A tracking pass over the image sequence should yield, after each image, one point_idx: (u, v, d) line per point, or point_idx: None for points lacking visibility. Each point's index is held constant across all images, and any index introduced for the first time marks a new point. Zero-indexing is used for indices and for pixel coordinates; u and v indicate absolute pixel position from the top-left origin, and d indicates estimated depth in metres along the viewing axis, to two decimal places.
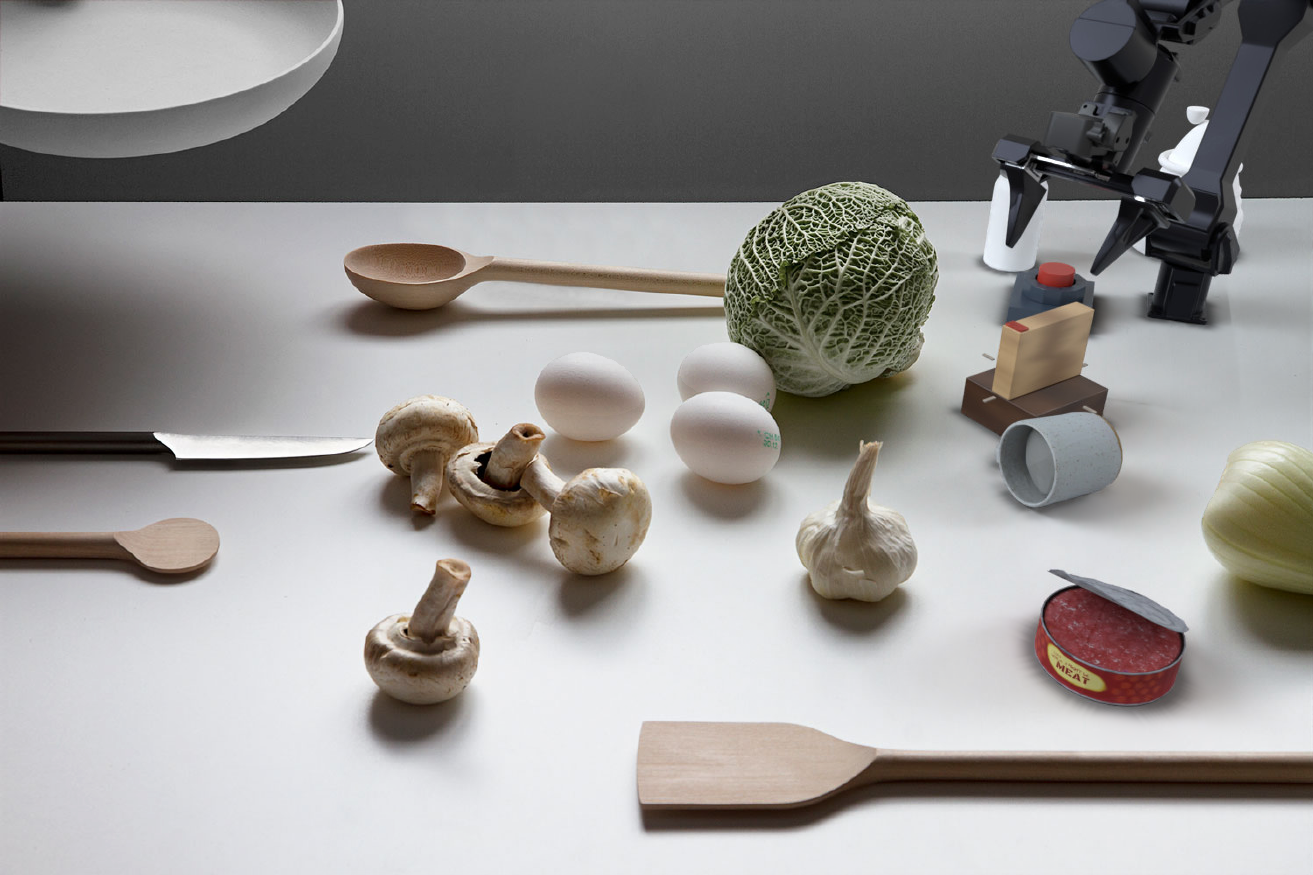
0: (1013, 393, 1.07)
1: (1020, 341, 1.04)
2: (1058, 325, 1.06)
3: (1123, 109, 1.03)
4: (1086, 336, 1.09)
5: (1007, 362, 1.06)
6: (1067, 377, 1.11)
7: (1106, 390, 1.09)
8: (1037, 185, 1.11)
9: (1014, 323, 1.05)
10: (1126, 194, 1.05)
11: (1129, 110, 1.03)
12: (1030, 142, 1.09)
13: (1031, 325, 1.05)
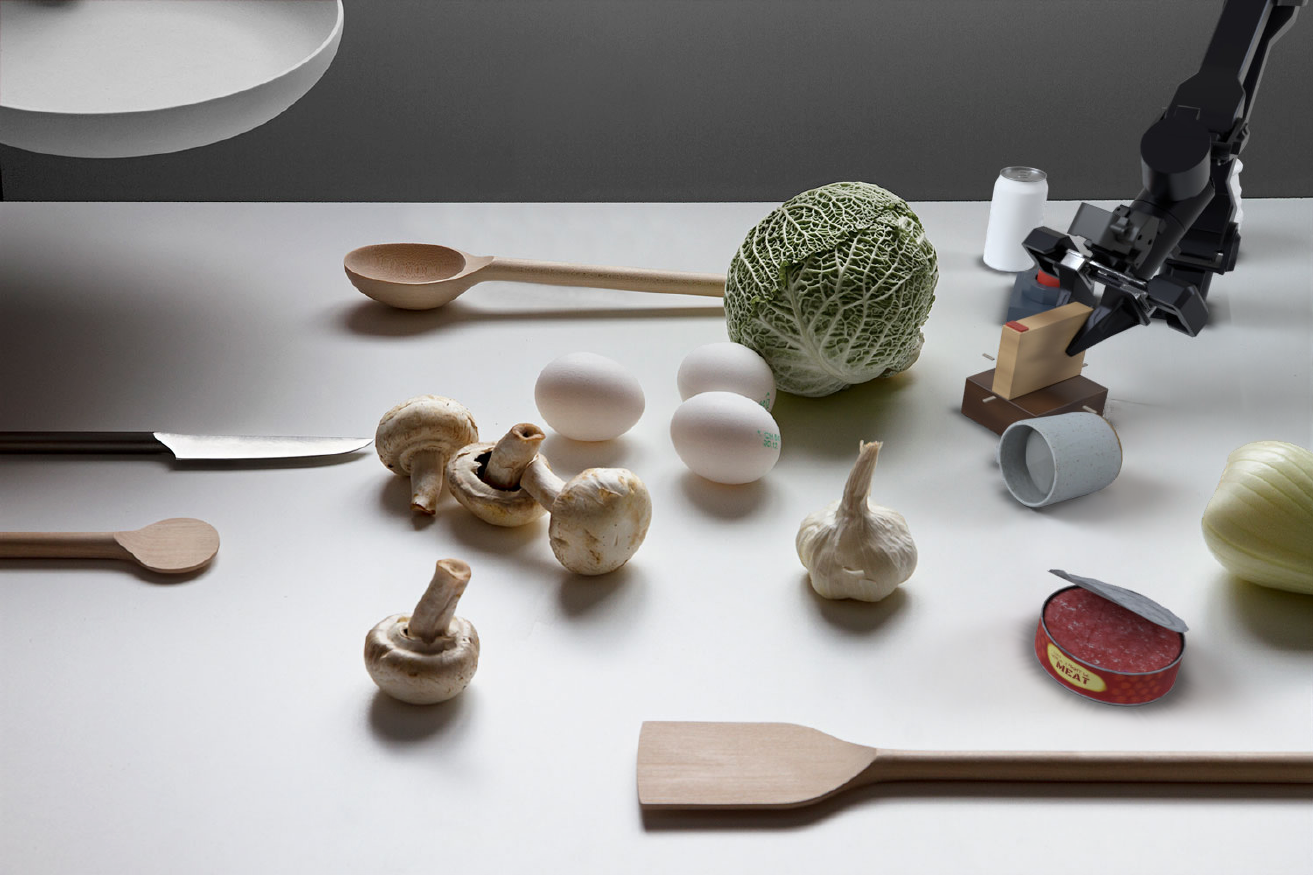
0: (1013, 393, 1.07)
1: (1020, 341, 1.04)
2: (1058, 325, 1.06)
3: (1154, 217, 1.06)
4: None
5: (1007, 362, 1.06)
6: (1067, 377, 1.11)
7: (1106, 390, 1.09)
8: (1087, 291, 1.11)
9: (1014, 323, 1.05)
10: None
11: (1159, 218, 1.05)
12: (1060, 235, 1.12)
13: (1031, 325, 1.05)
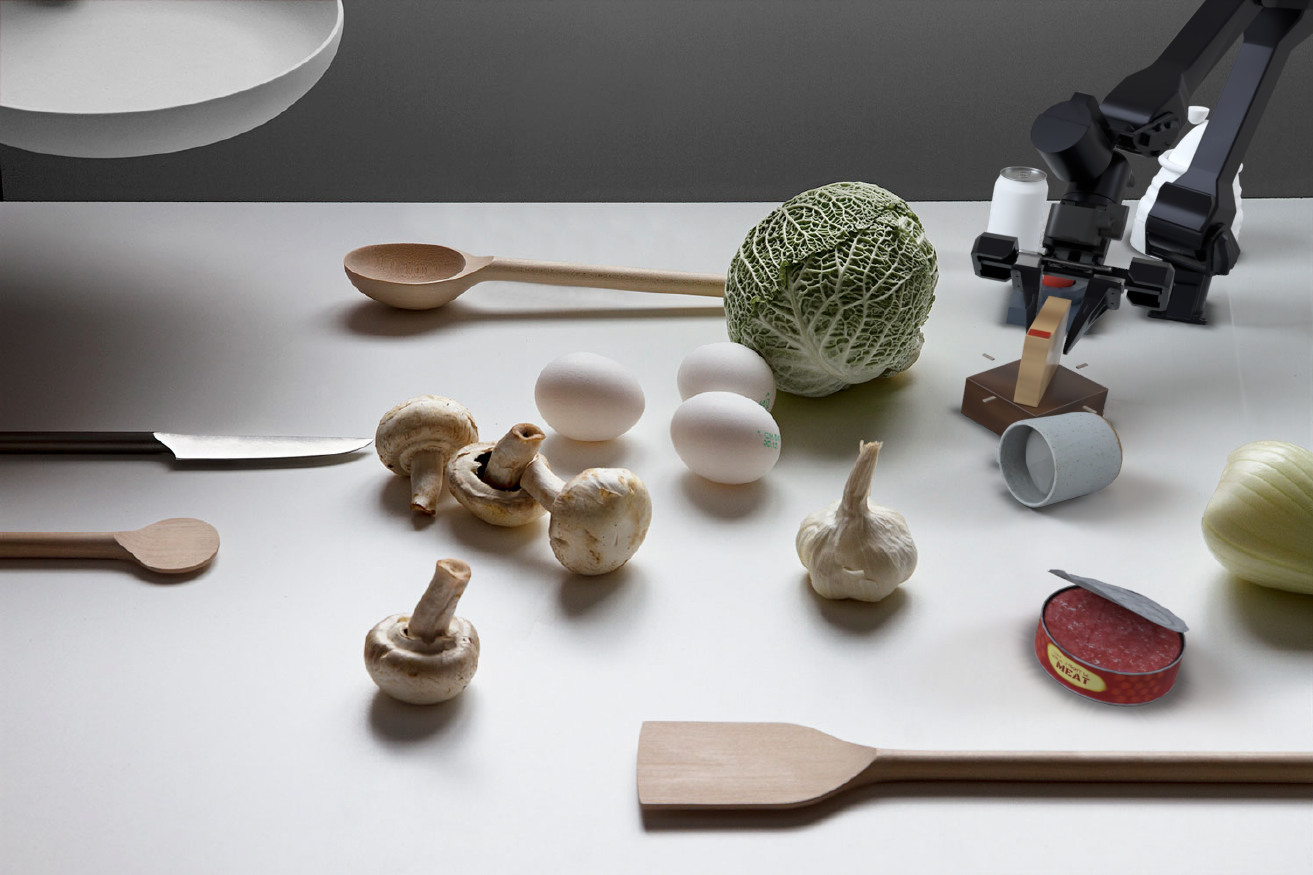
0: (1039, 399, 1.06)
1: (1048, 347, 1.03)
2: (1060, 322, 1.06)
3: (1102, 205, 1.10)
4: None
5: (1033, 370, 1.04)
6: (1055, 370, 1.12)
7: (1106, 390, 1.09)
8: (1041, 286, 1.13)
9: (1035, 331, 1.03)
10: None
11: None
12: (1011, 238, 1.12)
13: (1047, 329, 1.04)
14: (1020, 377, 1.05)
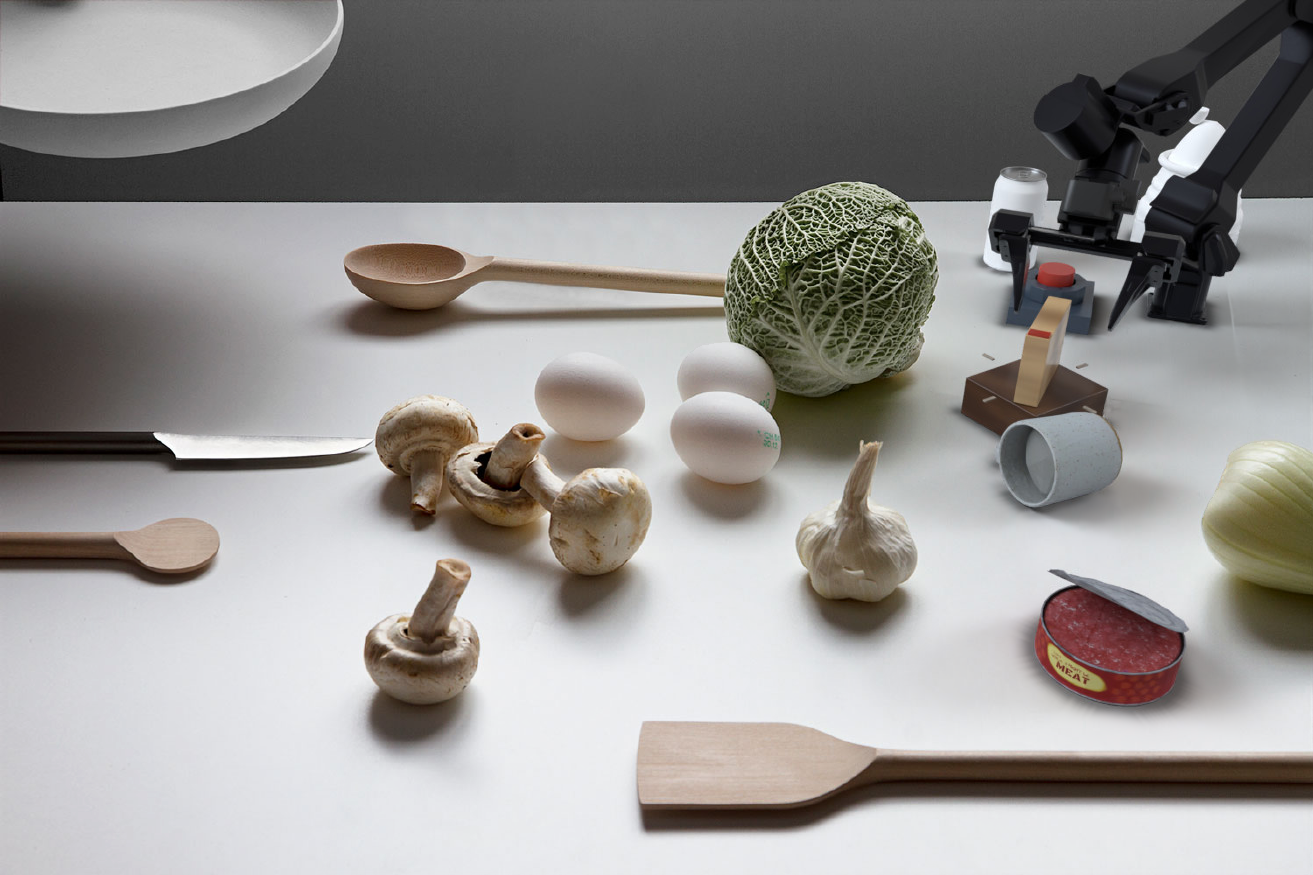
0: (1039, 399, 1.06)
1: (1048, 347, 1.03)
2: (1060, 322, 1.06)
3: (1114, 181, 1.14)
4: None
5: (1033, 370, 1.04)
6: (1055, 370, 1.12)
7: (1106, 390, 1.09)
8: (1028, 256, 1.18)
9: (1035, 331, 1.03)
10: (1124, 257, 1.14)
11: (1120, 182, 1.14)
12: (1027, 214, 1.16)
13: (1047, 329, 1.04)
14: (1020, 377, 1.05)
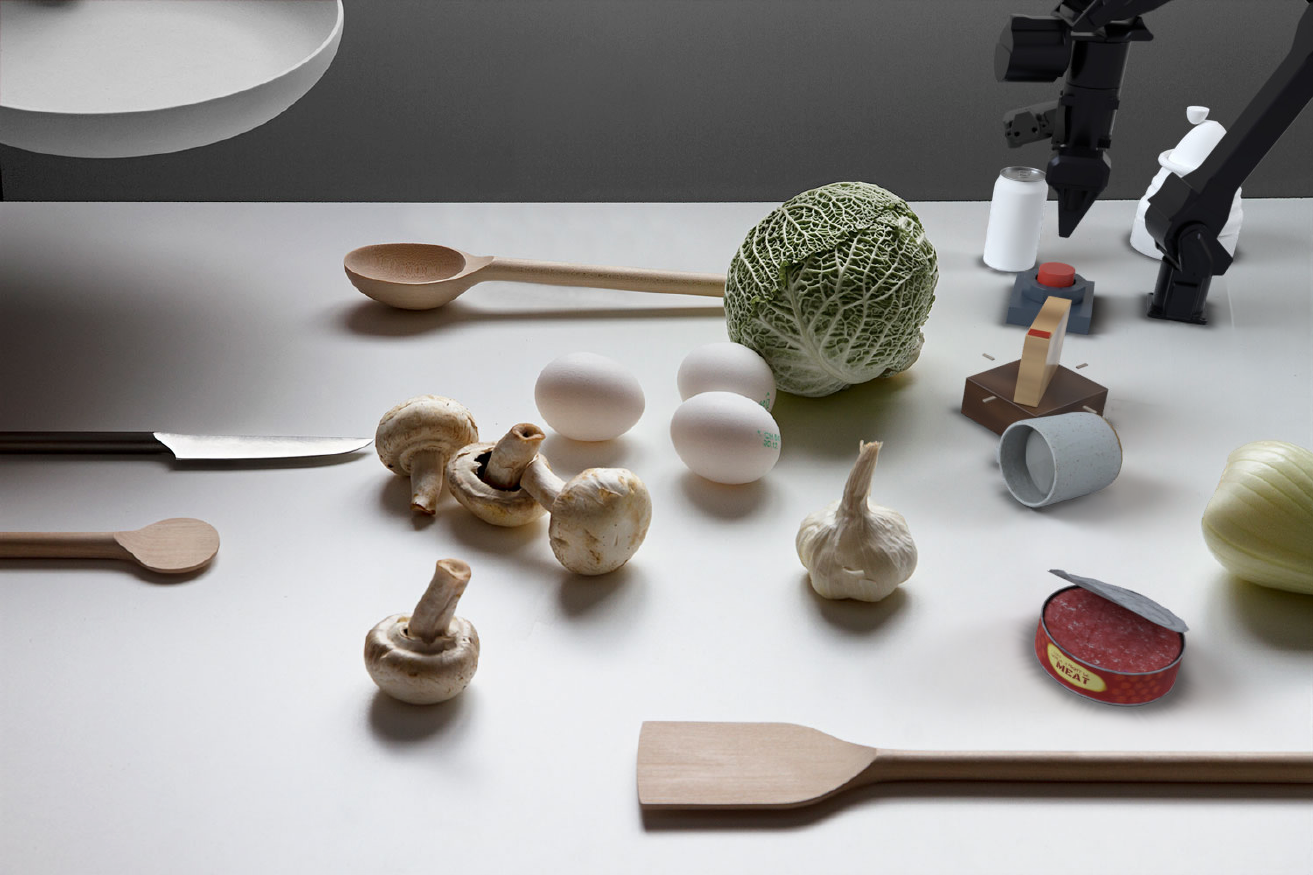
0: (1039, 399, 1.06)
1: (1048, 347, 1.03)
2: (1060, 322, 1.06)
3: (1062, 94, 1.20)
4: None
5: (1033, 370, 1.04)
6: (1055, 370, 1.12)
7: (1106, 390, 1.09)
8: None
9: (1035, 331, 1.03)
10: None
11: (1062, 95, 1.20)
12: None
13: (1047, 329, 1.04)
14: (1020, 377, 1.05)
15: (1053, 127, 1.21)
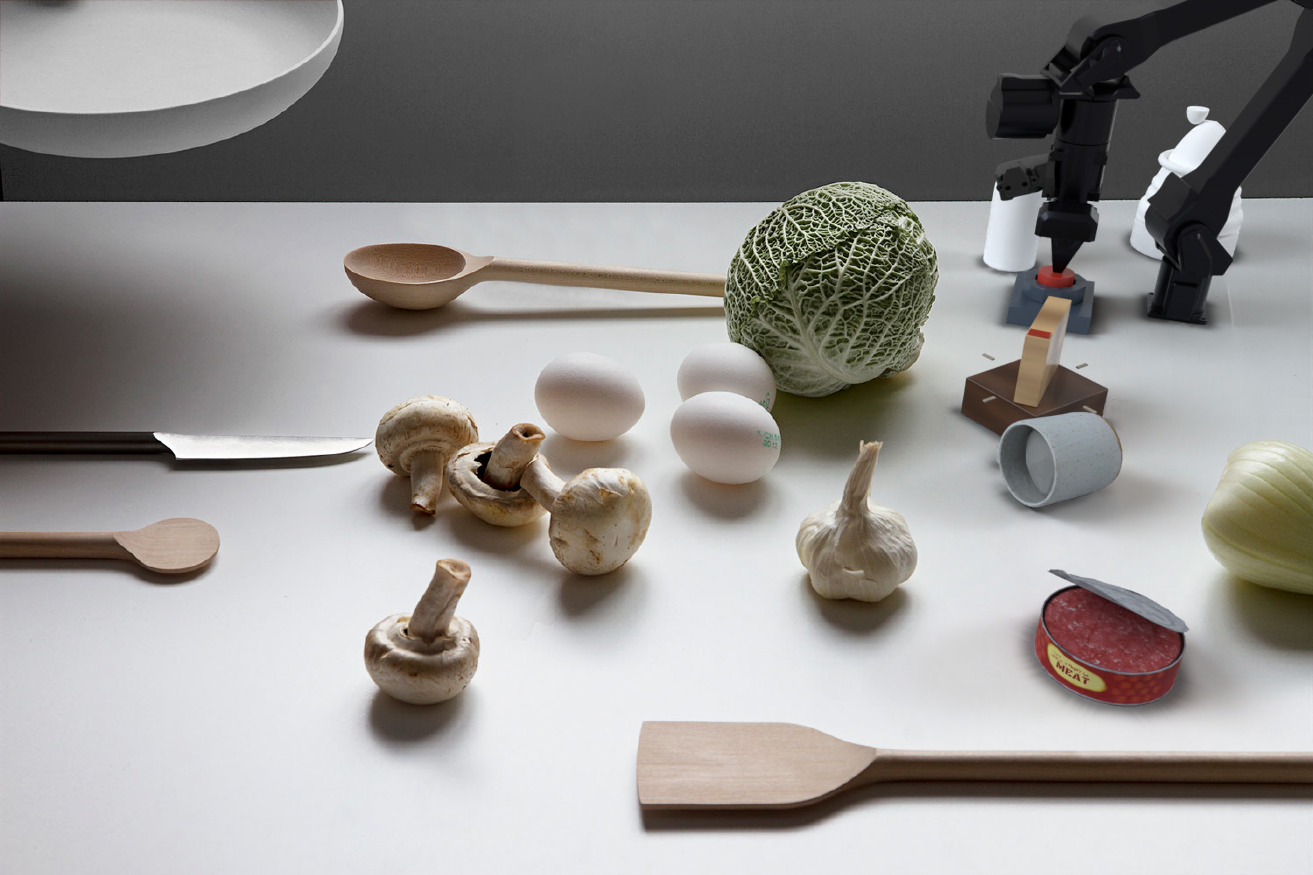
0: (1039, 399, 1.06)
1: (1048, 347, 1.03)
2: (1060, 322, 1.06)
3: (1052, 149, 1.23)
4: None
5: (1033, 370, 1.04)
6: (1055, 370, 1.12)
7: (1106, 390, 1.09)
8: None
9: (1035, 331, 1.03)
10: None
11: (1052, 151, 1.23)
12: None
13: (1047, 329, 1.04)
14: (1020, 377, 1.05)
15: (1043, 181, 1.24)
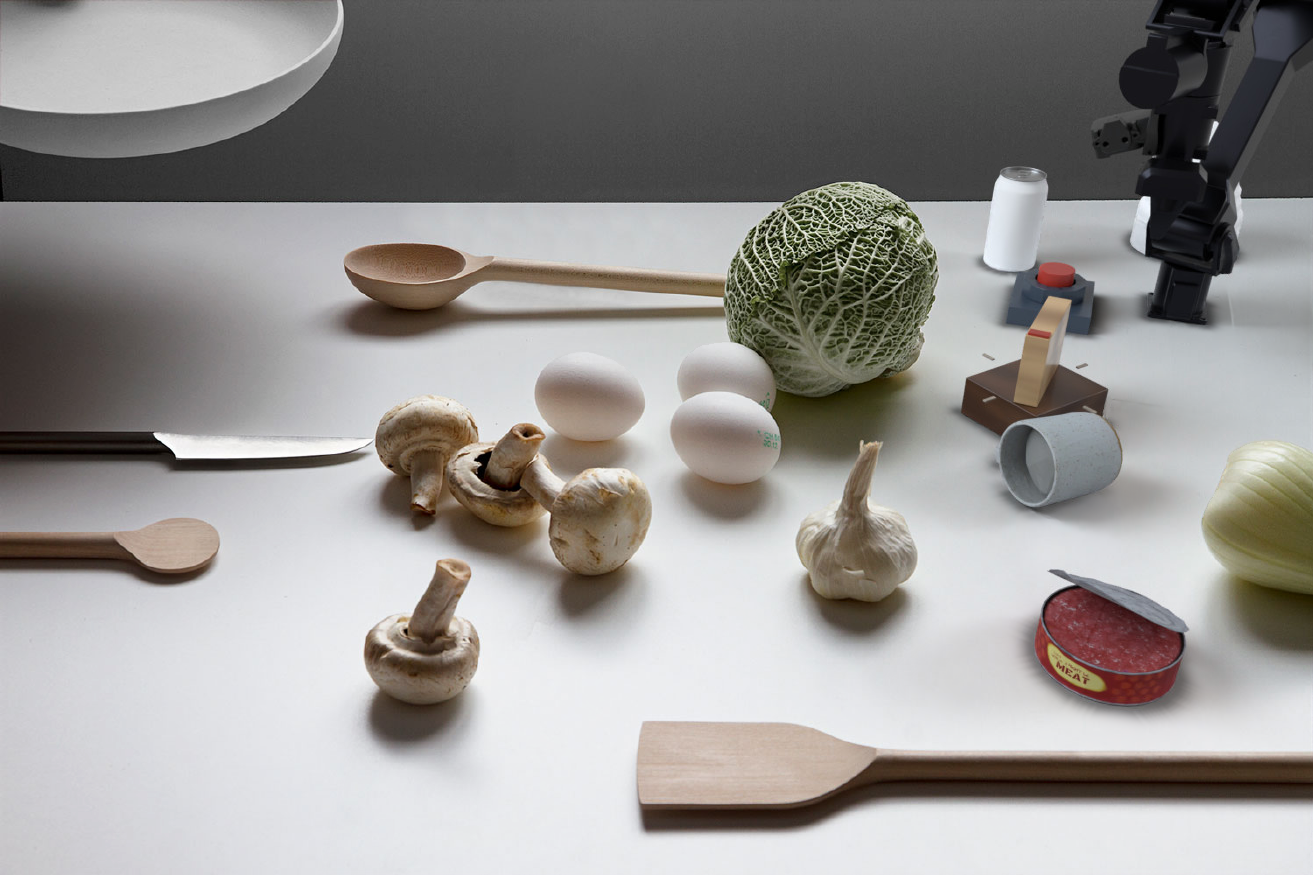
0: (1039, 399, 1.06)
1: (1048, 347, 1.03)
2: (1060, 322, 1.06)
3: None
4: None
5: (1033, 370, 1.04)
6: (1055, 370, 1.12)
7: (1106, 390, 1.09)
8: None
9: (1035, 331, 1.03)
10: None
11: None
12: None
13: (1047, 329, 1.04)
14: (1020, 377, 1.05)
15: (1145, 137, 1.14)
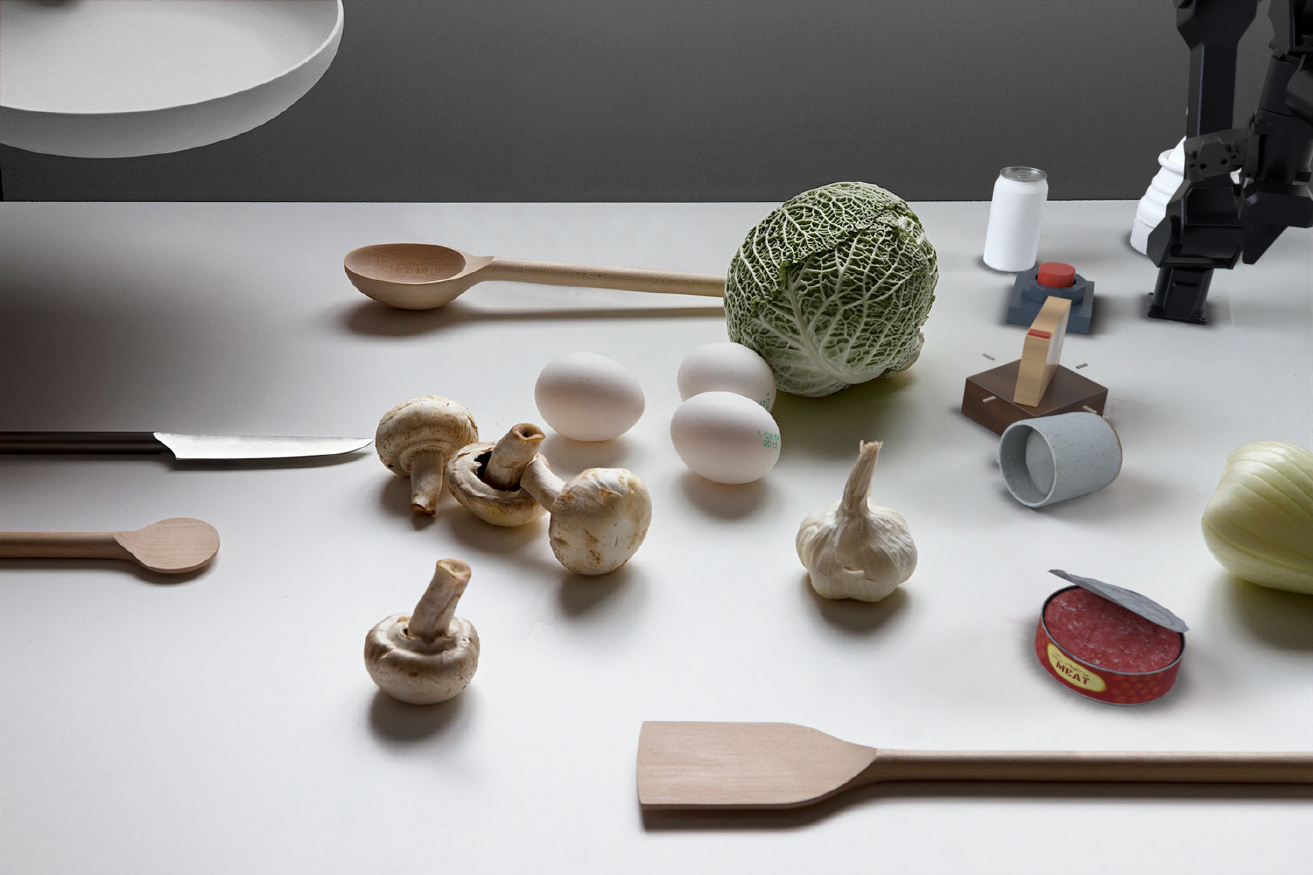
0: (1039, 399, 1.06)
1: (1048, 347, 1.03)
2: (1060, 322, 1.06)
3: (1256, 122, 1.07)
4: None
5: (1033, 370, 1.04)
6: (1055, 370, 1.12)
7: (1106, 390, 1.09)
8: None
9: (1035, 331, 1.03)
10: None
11: (1256, 123, 1.07)
12: None
13: (1047, 329, 1.04)
14: (1020, 377, 1.05)
15: (1244, 158, 1.08)
